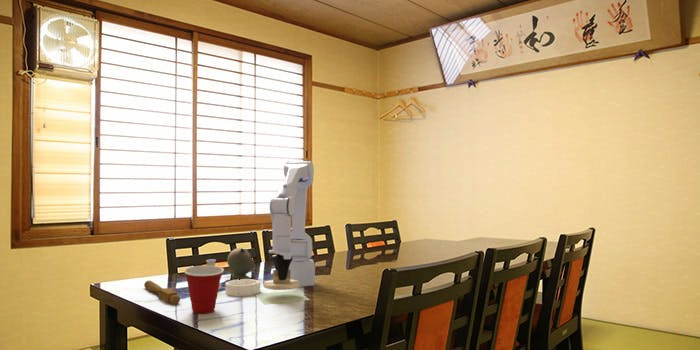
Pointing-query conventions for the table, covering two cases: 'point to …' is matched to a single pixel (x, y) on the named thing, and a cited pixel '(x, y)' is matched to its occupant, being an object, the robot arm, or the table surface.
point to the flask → (212, 263)
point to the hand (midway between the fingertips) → (281, 279)
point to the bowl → (242, 287)
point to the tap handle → (163, 292)
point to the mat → (281, 297)
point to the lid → (281, 282)
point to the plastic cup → (203, 287)
